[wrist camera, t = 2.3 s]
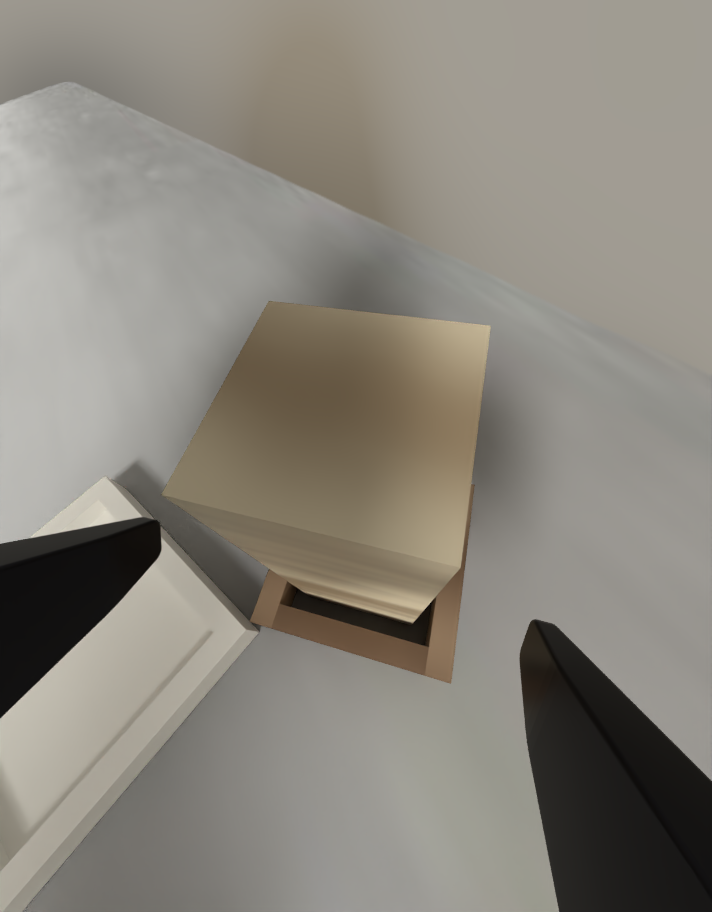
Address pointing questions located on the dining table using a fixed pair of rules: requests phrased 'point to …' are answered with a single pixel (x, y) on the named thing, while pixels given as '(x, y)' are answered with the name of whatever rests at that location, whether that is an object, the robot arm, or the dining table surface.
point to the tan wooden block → (344, 453)
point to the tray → (107, 701)
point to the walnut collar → (367, 643)
